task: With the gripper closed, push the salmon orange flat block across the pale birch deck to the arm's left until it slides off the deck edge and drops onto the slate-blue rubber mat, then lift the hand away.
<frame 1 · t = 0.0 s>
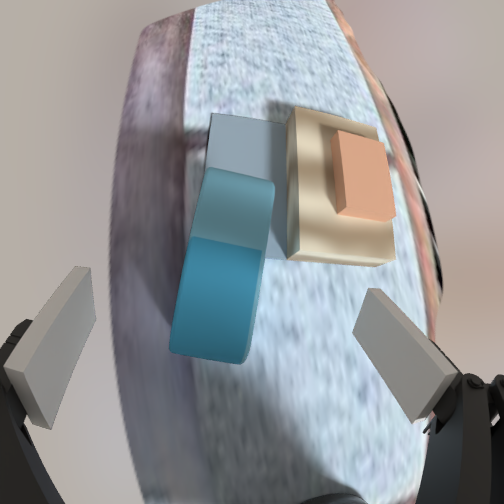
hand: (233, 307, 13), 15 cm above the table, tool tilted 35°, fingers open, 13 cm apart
mat: (245, 179, 32), on the table
deck: (330, 192, 34), on the table
salmon orange flat block: (358, 179, 30), point 4 cm above the table, touching deck
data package: (210, 281, 29), on the table, touching mat
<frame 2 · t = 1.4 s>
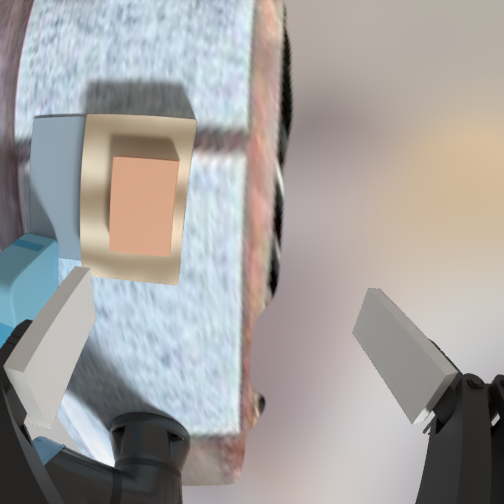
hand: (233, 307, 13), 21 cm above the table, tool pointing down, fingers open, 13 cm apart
mat: (59, 189, 29), on the table
deck: (138, 194, 31), on the table
salmon orange flat block: (144, 203, 28), point 4 cm above the table, touching deck
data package: (45, 274, 32), on the table, touching mat
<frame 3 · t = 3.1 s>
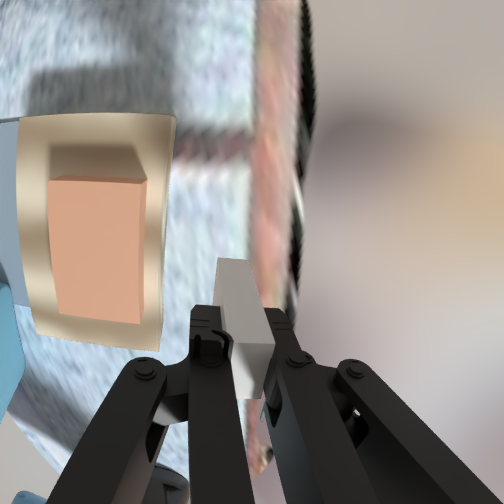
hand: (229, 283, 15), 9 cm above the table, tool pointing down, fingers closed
mat: (4, 219, 19), on the table
deck: (99, 225, 21), on the table
salmon orange flat block: (101, 245, 18), point 4 cm above the table, touching deck
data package: (3, 320, 23), on the table, touching mat
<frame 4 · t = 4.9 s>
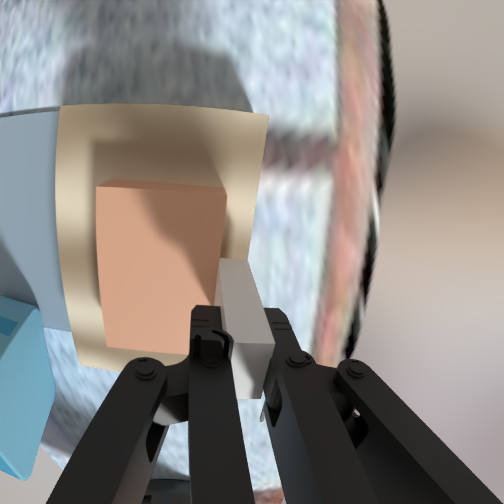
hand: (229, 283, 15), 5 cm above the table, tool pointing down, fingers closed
mat: (32, 230, 18), on the table
deck: (156, 239, 19), on the table
salmon orange flat block: (160, 265, 16), point 4 cm above the table, touching gripper
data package: (29, 344, 21), on the table, touching mat
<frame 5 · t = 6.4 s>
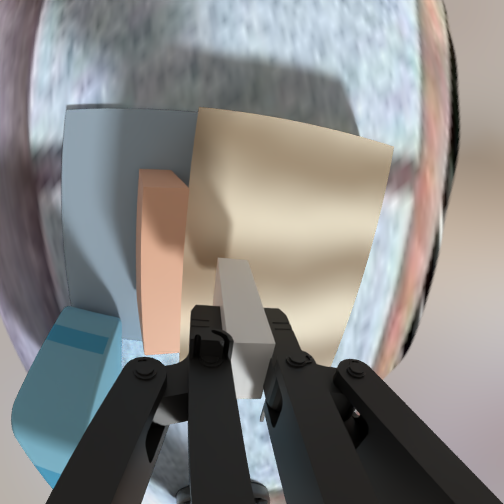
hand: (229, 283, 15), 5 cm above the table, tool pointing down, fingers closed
mat: (121, 236, 19), on the table
deck: (266, 249, 21), on the table
salmon orange flat block: (172, 256, 17), point 3 cm above the table, tilted 76°, touching mat
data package: (98, 356, 22), on the table, touching mat
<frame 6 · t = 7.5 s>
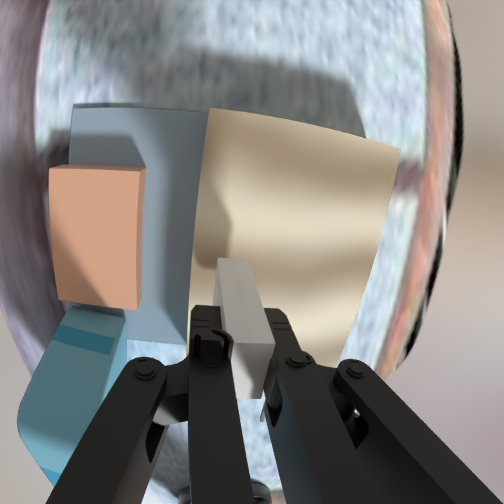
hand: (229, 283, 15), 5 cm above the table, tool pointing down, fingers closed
mat: (128, 236, 19), on the table
deck: (273, 249, 21), on the table
salmon orange flat block: (90, 242, 16), point 2 cm above the table, tilted 180°, touching mat
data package: (102, 357, 22), on the table, touching mat
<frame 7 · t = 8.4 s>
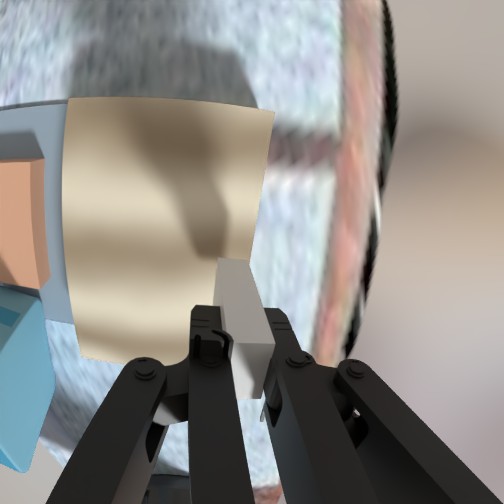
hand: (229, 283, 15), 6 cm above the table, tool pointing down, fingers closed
mat: (36, 222, 18), on the table
deck: (161, 232, 20), on the table
salmon orange flat block: (1, 227, 15), point 2 cm above the table, tilted 180°, touching mat
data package: (30, 336, 21), on the table, touching mat
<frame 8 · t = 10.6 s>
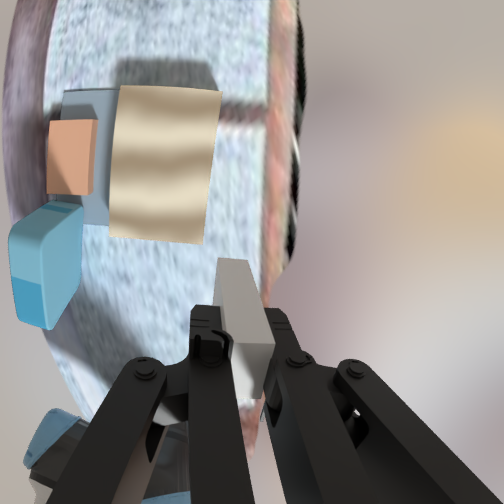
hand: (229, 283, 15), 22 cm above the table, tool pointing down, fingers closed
mat: (88, 157, 31), on the table
deck: (164, 161, 33), on the table
salmon orange flat block: (67, 157, 29), point 2 cm above the table, tilted 180°, touching mat
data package: (68, 241, 35), on the table, touching mat
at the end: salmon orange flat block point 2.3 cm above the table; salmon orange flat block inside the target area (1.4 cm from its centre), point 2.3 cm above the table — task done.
